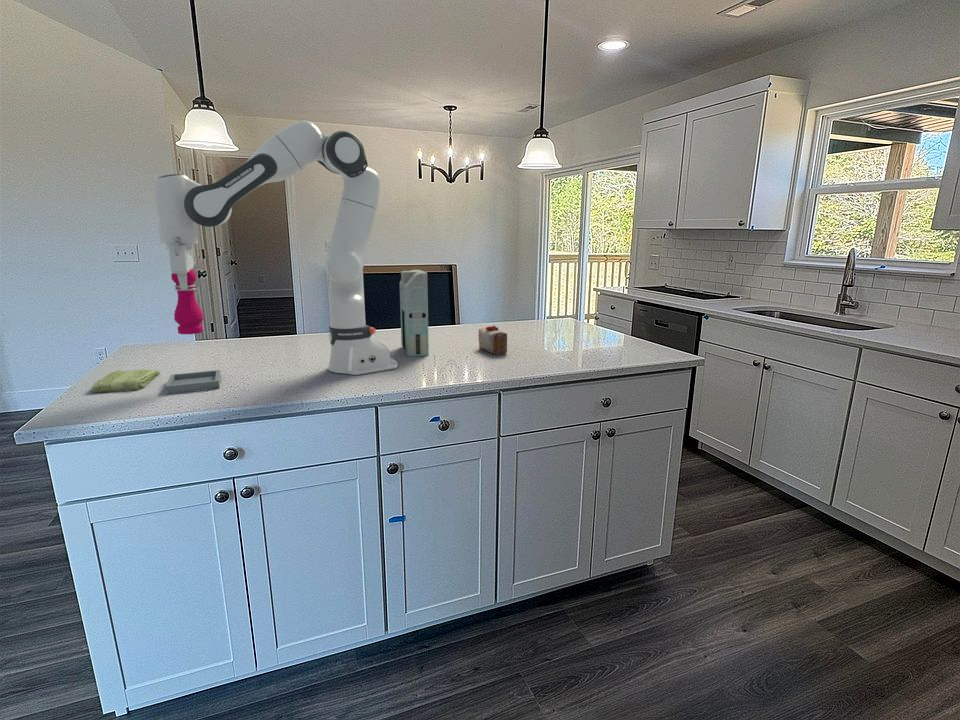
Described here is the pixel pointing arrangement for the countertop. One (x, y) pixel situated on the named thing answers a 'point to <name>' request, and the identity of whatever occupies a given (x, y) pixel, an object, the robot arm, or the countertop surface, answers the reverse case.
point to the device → (414, 312)
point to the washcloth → (125, 380)
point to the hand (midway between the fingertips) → (185, 287)
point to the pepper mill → (187, 307)
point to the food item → (493, 340)
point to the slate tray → (193, 381)
